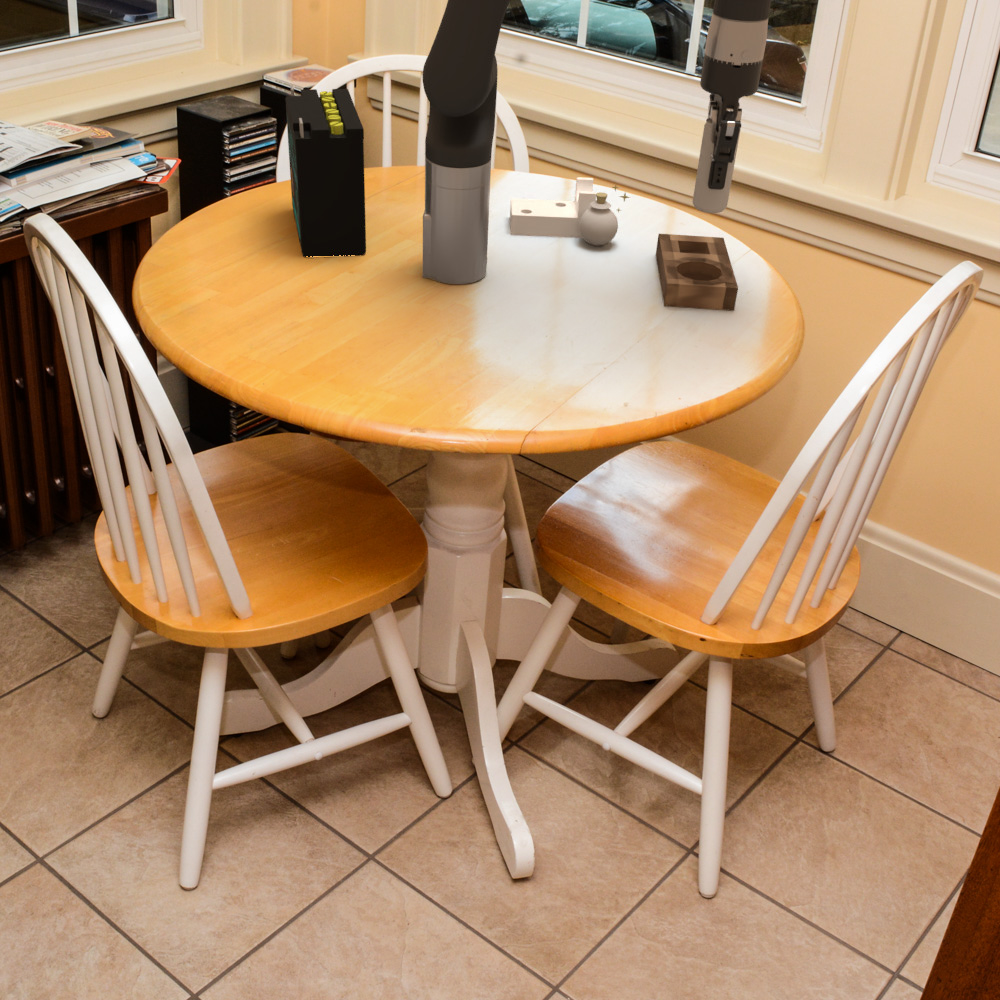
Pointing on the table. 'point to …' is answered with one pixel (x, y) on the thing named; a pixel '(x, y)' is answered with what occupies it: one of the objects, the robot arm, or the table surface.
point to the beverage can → (703, 195)
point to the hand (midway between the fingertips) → (713, 180)
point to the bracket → (552, 213)
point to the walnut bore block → (695, 272)
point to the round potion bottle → (599, 221)
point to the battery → (327, 172)
